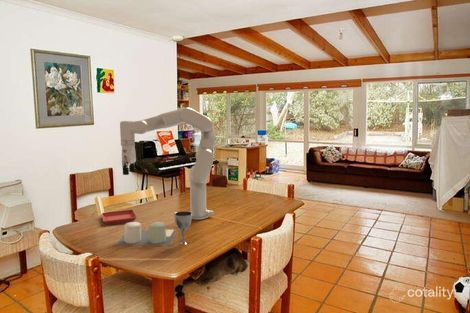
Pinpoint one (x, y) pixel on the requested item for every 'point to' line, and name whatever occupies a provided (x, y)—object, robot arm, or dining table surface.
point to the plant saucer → (118, 217)
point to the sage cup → (157, 232)
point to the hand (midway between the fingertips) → (129, 173)
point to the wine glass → (183, 222)
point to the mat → (145, 238)
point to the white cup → (132, 232)
